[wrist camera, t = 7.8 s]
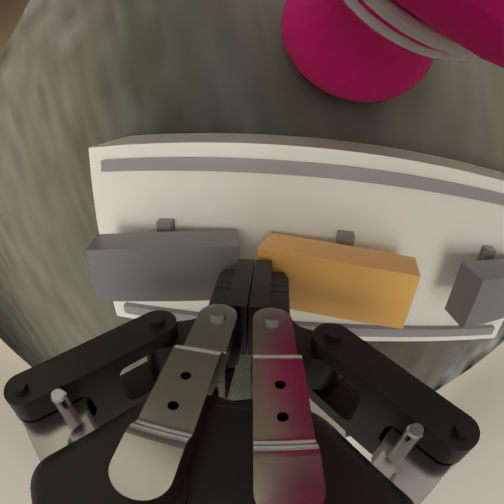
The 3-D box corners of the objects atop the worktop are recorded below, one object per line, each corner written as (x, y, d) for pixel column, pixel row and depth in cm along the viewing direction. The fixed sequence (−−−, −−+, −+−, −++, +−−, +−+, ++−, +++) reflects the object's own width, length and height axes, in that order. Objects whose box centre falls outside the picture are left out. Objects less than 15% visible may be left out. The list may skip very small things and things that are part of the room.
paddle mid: (414, 257, 13) (420, 276, 11) (400, 306, 14) (402, 329, 13) (269, 232, 15) (258, 247, 13) (266, 282, 16) (256, 301, 15)
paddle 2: (527, 256, 14) (546, 270, 12) (513, 294, 15) (529, 309, 13) (461, 261, 13) (483, 280, 11) (444, 308, 14) (462, 329, 12)
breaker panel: (506, 173, 16) (553, 197, 12) (469, 300, 21) (497, 343, 16) (130, 135, 19) (82, 149, 14) (144, 277, 24) (113, 320, 19)
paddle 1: (236, 229, 15) (239, 245, 14) (236, 279, 16) (238, 299, 15) (97, 234, 14) (85, 250, 13) (107, 281, 16) (98, 301, 14)
